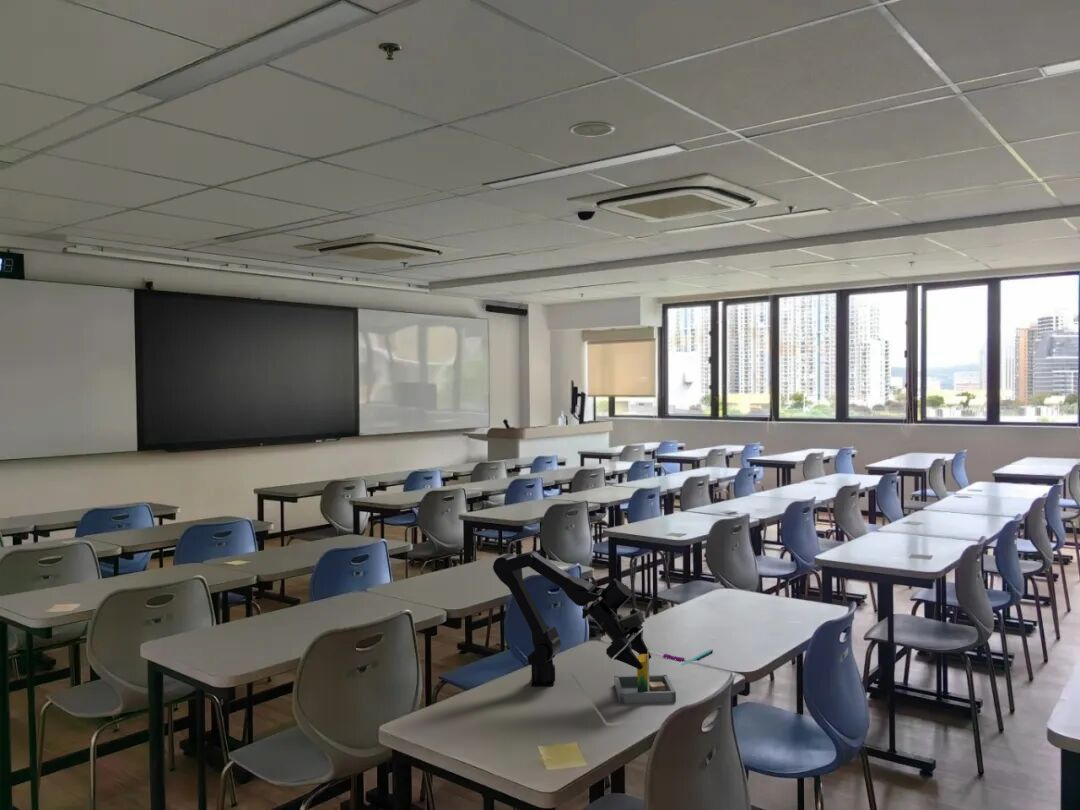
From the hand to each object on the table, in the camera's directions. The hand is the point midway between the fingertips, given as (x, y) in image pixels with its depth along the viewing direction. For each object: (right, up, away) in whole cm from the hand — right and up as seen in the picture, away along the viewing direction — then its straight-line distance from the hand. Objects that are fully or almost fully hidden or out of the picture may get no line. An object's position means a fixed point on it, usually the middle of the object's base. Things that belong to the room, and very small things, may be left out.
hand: (646, 663), depth 220 cm
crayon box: (-1, -9, 0) cm, 9 cm away
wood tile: (+3, -8, +4) cm, 10 cm away
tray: (-1, -9, 0) cm, 9 cm away
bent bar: (+13, -10, +29) cm, 33 cm away
